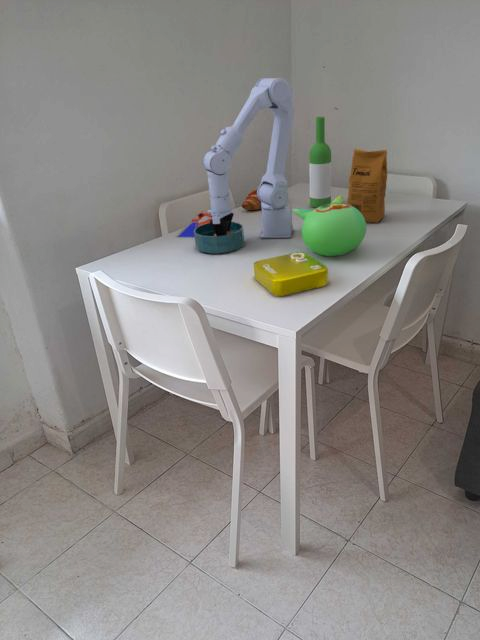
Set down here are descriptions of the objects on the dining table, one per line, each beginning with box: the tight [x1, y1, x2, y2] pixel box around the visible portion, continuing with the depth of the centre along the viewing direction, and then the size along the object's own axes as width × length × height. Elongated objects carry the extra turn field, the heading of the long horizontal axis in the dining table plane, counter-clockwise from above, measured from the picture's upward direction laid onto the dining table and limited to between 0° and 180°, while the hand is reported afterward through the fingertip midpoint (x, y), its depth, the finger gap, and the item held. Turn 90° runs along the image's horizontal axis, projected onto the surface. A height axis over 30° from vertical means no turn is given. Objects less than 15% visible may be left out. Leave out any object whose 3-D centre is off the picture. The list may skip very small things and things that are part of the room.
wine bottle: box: [308, 116, 332, 209], centre depth 175 cm, size 8×8×30 cm
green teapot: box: [292, 194, 367, 257], centre depth 137 cm, size 18×17×15 cm
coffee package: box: [346, 148, 388, 224], centre depth 161 cm, size 10×12×22 cm
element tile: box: [253, 251, 329, 297], centre depth 125 cm, size 15×15×5 cm
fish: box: [177, 210, 212, 238], centre depth 166 cm, size 13×5×9 cm
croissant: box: [241, 188, 262, 211], centre depth 187 cm, size 21×10×8 cm, turn 141°
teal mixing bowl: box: [194, 220, 245, 255], centre depth 151 cm, size 15×15×6 cm
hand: (224, 240), depth 151 cm, fingers closed on drumstick, 4 cm apart
